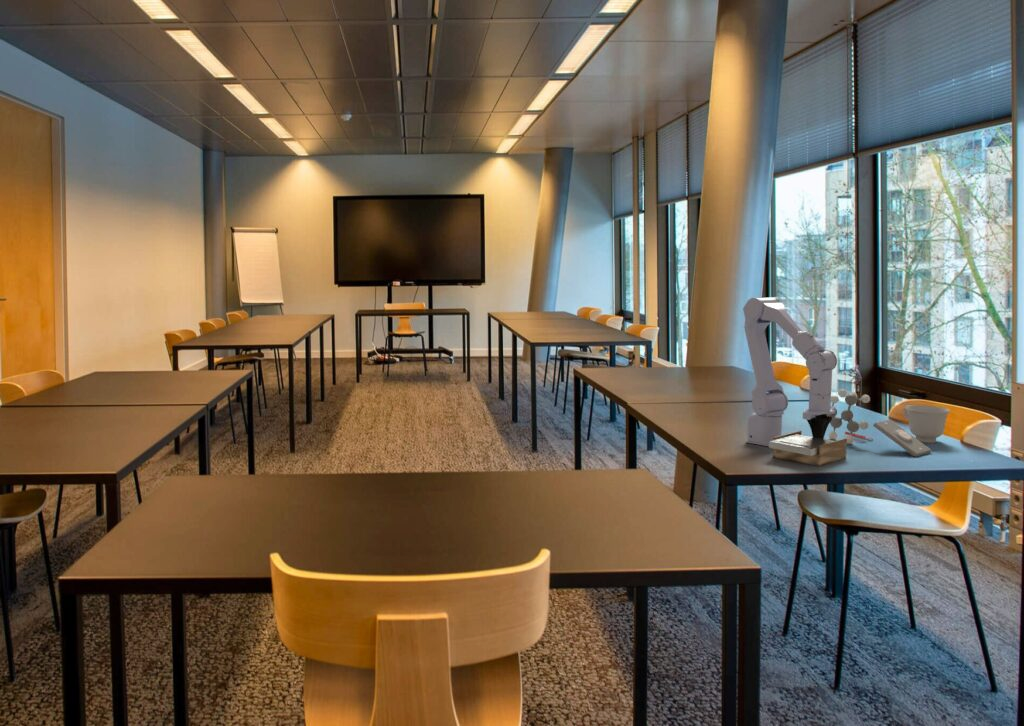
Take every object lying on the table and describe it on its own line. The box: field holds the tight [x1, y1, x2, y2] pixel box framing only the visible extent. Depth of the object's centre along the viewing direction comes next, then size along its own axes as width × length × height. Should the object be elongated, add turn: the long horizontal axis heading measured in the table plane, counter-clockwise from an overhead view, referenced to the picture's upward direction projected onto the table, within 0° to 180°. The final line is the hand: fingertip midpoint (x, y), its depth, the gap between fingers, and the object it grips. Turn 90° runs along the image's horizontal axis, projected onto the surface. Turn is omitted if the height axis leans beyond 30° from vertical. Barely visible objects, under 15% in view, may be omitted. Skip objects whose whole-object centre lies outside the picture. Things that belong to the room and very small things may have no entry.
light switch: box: [872, 419, 932, 458], centre depth 226 cm, size 8×6×14 cm
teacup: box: [902, 404, 951, 444], centre depth 239 cm, size 12×15×10 cm
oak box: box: [772, 430, 847, 467], centre depth 217 cm, size 14×14×6 cm
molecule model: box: [827, 388, 874, 445], centre depth 240 cm, size 20×16×16 cm
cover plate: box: [768, 434, 834, 456], centre depth 215 cm, size 12×14×2 cm
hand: (818, 441), depth 220 cm, fingers closed
